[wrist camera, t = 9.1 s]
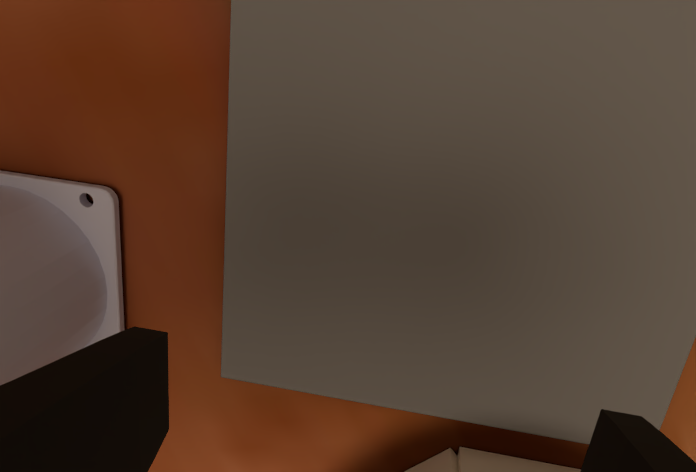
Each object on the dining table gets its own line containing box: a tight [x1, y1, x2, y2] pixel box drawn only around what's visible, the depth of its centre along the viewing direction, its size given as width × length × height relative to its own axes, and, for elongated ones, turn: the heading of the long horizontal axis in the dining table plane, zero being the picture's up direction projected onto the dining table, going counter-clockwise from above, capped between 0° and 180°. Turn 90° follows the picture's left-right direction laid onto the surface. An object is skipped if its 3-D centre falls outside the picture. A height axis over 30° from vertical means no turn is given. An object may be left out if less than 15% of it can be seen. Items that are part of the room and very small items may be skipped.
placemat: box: [221, 0, 696, 444], centre depth 17 cm, size 16×16×1 cm
